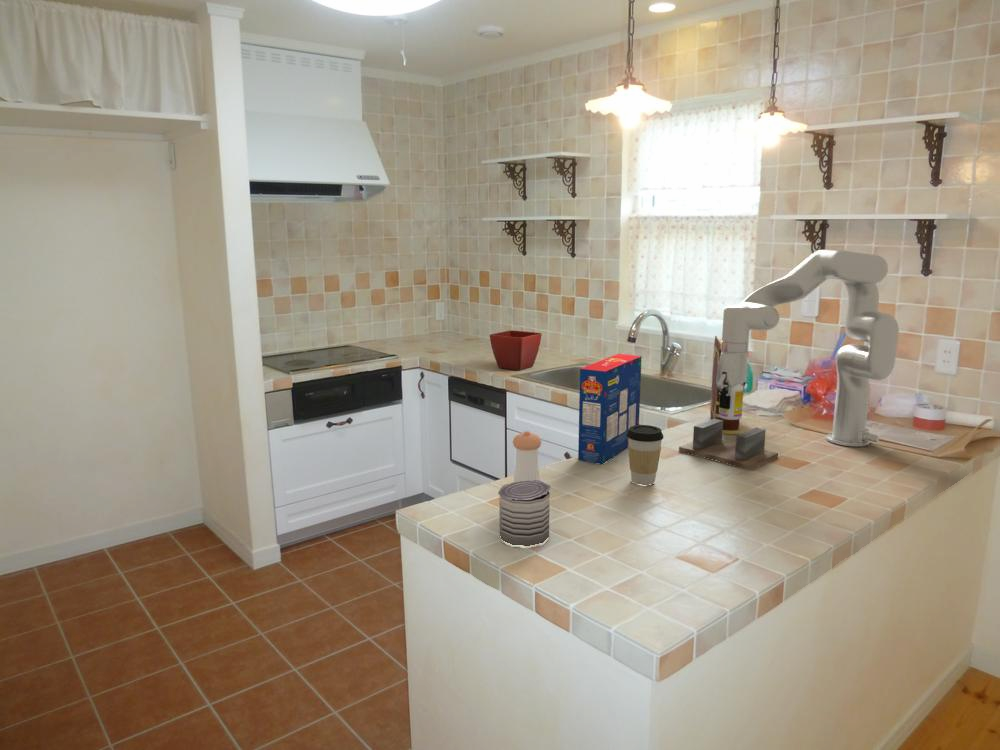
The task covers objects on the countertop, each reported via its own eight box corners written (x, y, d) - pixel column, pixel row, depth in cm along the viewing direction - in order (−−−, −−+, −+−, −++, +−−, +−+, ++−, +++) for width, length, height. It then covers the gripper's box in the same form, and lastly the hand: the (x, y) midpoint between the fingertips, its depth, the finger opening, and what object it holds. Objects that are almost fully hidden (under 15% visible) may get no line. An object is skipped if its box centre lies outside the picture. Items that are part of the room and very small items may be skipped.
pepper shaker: (521, 512, 172) (521, 437, 168) (507, 502, 178) (507, 429, 174) (546, 506, 175) (547, 433, 171) (532, 497, 182) (532, 425, 178)
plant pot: (510, 362, 360) (510, 329, 357) (542, 366, 349) (542, 332, 346) (488, 368, 345) (488, 334, 341) (521, 373, 334) (521, 337, 330)
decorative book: (740, 435, 234) (746, 346, 227) (715, 434, 235) (720, 345, 229) (732, 417, 255) (737, 335, 249) (709, 416, 257) (714, 335, 251)
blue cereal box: (615, 436, 233) (618, 353, 227) (638, 440, 229) (641, 356, 223) (578, 460, 210) (580, 368, 204) (602, 464, 206) (605, 371, 200)
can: (546, 551, 152) (547, 498, 149) (494, 547, 154) (494, 495, 151) (552, 528, 163) (552, 479, 160) (503, 525, 165) (503, 477, 162)
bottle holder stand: (777, 457, 211) (780, 430, 209) (751, 470, 200) (753, 441, 199) (706, 440, 228) (707, 415, 227) (678, 451, 218) (680, 425, 216)
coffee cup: (664, 479, 194) (667, 426, 191) (657, 491, 185) (659, 436, 182) (629, 473, 198) (631, 422, 195) (620, 485, 189) (622, 432, 186)
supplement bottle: (741, 415, 214) (744, 374, 211) (741, 421, 208) (744, 378, 205) (718, 413, 216) (721, 373, 213) (717, 419, 210) (720, 377, 207)
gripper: (737, 342, 216) (733, 399, 220) (707, 349, 204) (704, 408, 208) (760, 345, 211) (756, 403, 214) (731, 352, 199) (727, 413, 203)
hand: (730, 405), depth 211 cm, fingers closed on supplement bottle, 6 cm apart
